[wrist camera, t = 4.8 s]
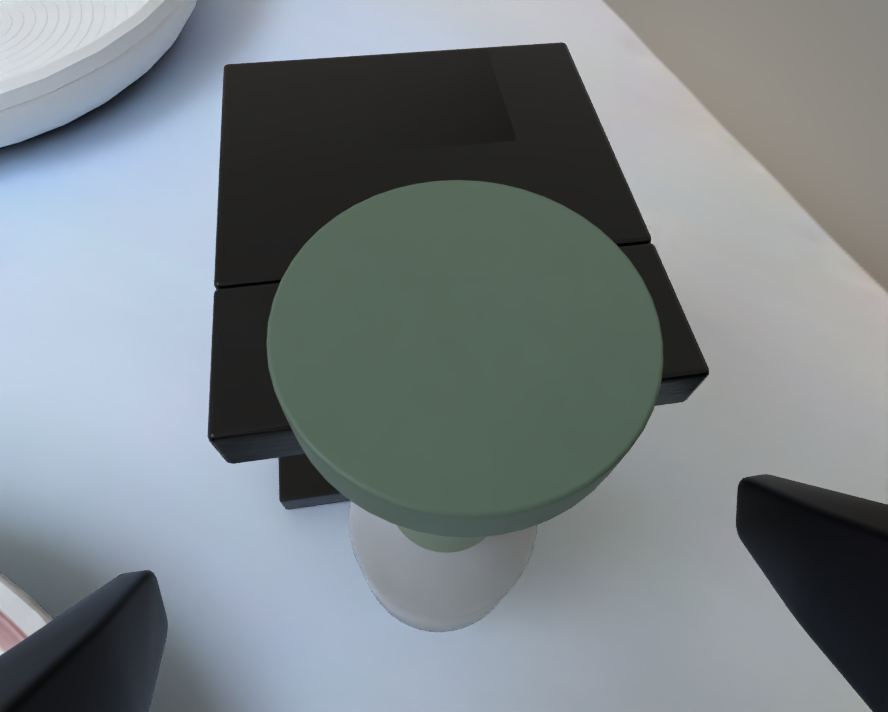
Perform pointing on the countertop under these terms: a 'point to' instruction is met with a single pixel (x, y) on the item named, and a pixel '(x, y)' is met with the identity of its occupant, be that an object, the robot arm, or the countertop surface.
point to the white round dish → (76, 56)
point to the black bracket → (386, 168)
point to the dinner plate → (18, 614)
